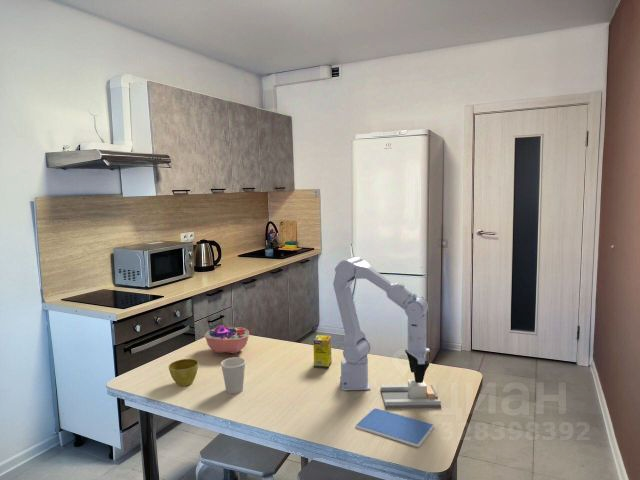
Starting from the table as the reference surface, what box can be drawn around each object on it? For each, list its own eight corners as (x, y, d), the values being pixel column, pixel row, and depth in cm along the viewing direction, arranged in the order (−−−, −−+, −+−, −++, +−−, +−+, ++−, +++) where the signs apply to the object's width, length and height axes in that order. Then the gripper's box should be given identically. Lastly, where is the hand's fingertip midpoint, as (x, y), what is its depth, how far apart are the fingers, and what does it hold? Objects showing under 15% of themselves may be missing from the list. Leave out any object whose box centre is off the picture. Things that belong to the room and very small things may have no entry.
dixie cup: (232, 383, 158) (230, 355, 156) (251, 387, 154) (250, 359, 153) (216, 393, 150) (215, 364, 149) (237, 397, 146) (235, 368, 145)
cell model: (231, 363, 175) (230, 335, 174) (196, 354, 186) (195, 327, 185) (259, 349, 189) (258, 323, 188) (225, 341, 200) (224, 317, 199)
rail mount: (385, 408, 137) (385, 400, 137) (380, 389, 149) (380, 382, 149) (441, 407, 137) (441, 399, 136) (431, 388, 149) (431, 382, 149)
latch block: (428, 401, 139) (428, 393, 139) (422, 389, 147) (422, 382, 146) (434, 401, 139) (434, 393, 139) (428, 389, 147) (428, 382, 146)
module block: (410, 400, 140) (410, 386, 140) (408, 392, 145) (408, 379, 145) (426, 399, 140) (426, 386, 140) (423, 392, 145) (423, 379, 145)
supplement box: (329, 368, 168) (328, 340, 166) (313, 367, 169) (312, 340, 168) (332, 362, 174) (331, 335, 172) (316, 361, 175) (316, 334, 173)
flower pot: (163, 386, 156) (162, 367, 155) (183, 375, 165) (182, 357, 164) (185, 391, 152) (184, 371, 151) (205, 380, 161) (204, 361, 160)
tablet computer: (353, 429, 127) (353, 425, 127) (374, 410, 137) (374, 406, 137) (418, 450, 116) (418, 445, 116) (435, 428, 126) (435, 423, 126)
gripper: (435, 343, 133) (434, 387, 135) (424, 328, 148) (424, 367, 149) (411, 344, 133) (411, 387, 135) (403, 328, 148) (403, 367, 149)
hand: (416, 377), depth 142 cm, fingers open, 7 cm apart
